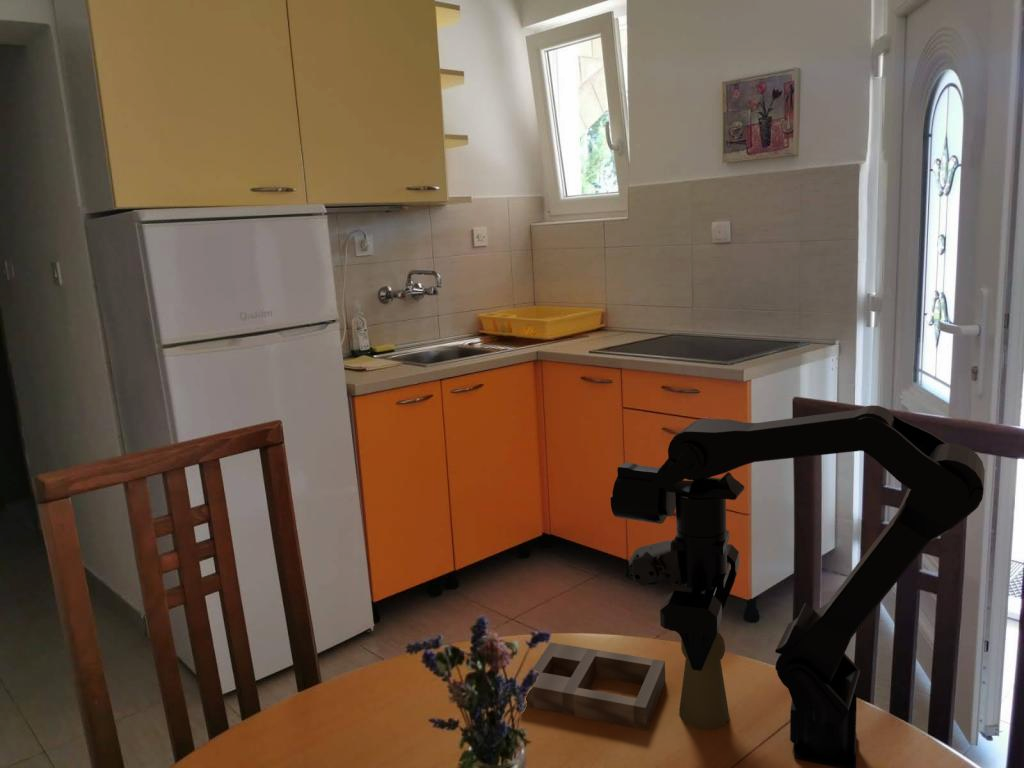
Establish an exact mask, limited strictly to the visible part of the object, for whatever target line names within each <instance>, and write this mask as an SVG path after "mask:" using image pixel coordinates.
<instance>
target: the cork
mask: <svg viewBox="0 0 1024 768" xmlns="http://www.w3.org/2000/svg"><path fill="white" fill-rule="evenodd" d="M680 645H681V653H682V654H683V656H684V658H685V661H684V669H683V670H684V671H683V675H682V676H683V678H682V686H681V695H680V701H679V708H678V710H679V712H678V713H679V717H680V719H681V720H682V721H684V723H686V724H687V725H689V726H691V727H694V728H696V729H697V728H698V729H701V730H715V729H719V728H721V727H723V726H724V725H726V724H727V723H728V721H729V719H730V713H729V707H728V706H729V705H728V701H727V694H726V687H725V682H724V681H725V680H724V676H723V667H722V659H723V658H724V656H725V651H726V644H725V640H724V637H723V636H722V635H721V633H720V632H718V634H717V636H716V639H715V641H714V643H713V645H712V648H711V650H710V652H709V654H708V657H707V659H706V661H705V664H704V666H703V668H702V670H701V671H698V670H693V669H692V667H691V664H690V662H689V659H688V656H687V653H686V650H685V647H684V644H683V642H682V639H681V641H680Z"/></svg>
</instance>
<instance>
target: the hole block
mask: <svg viewBox="0 0 1024 768" xmlns="http://www.w3.org/2000/svg"><path fill="white" fill-rule="evenodd" d="M531 670H536V671H538V672H539V673H540V676H539V678H538V680H537V682H536V683H535V685H534V686H533V688H532V689H531V690H530V691H529V693H528V695H527V697H526V701H527V706H526V707H529V708H533V709H534V708H535V709H539V710H544V711H549V712H553V713H559V714H565V715H568V716H574V717H578V718H584V719H588V720H594V721H598V722H599V721H600V722H605V723H609V724H615V725H620V726H624V727H628V728H634V729H638V730H639V729H640V730H644V731H647V729H648V727H649V725H650V722H651V719H652V716H653V715H654V711H655V710H656V706H657V705H658V702H659V699H660V696H661V694H662V691H663V688H664V686H665V683H666V661H665V660H661V659H654V658H648V657H642V656H637V655H631V654H630V655H629V654H624V653H619V652H618V653H617V652H611V651H606V650H600V649H599V650H598V649H593V648H587V647H581V646H575V645H569V644H564V643H563V644H562V643H556V642H551V641H550V642H549V644H548V645H547V646H546V648H545V650H544V651H543V653H542V654H540V657H539V658H538V660H537V662H536V663H535V664H534V665H533V666H532V668H531ZM596 677H600V678H605V679H611V680H617V681H622V682H627V683H628V682H629V683H633V684H638V683H639V685H641V687H640V690H639V692H638V694H637V696H636V697H631V696H625V695H620V694H615V693H609V692H603V691H598V690H594V689H591V686H592V685H593V683H594V681H595V679H596Z"/></svg>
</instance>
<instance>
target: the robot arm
mask: <svg viewBox="0 0 1024 768" xmlns="http://www.w3.org/2000/svg"><path fill="white" fill-rule="evenodd" d="M668 444H669V445H668V448H667V456H668V457H667V459H666V461H665V462H664V464H662V465H661V466H660V467H655V466H648V465H647V466H646V465H639V464H637V463H632V462H627V461H626V462H623V463H622V464H621V465H619V466H618V467H617V469H616V470H617V472H616V473H617V476H616V478H615V481H614V483H613V488H612V494H611V496H610V509H611V512H612V514H613V516H614V517H615V518H619V519H625V520H631V521H638V522H644V523H645V522H646V523H652V524H660V525H661V524H663V523H664V522H665V521H666V519H667V517H669V518H670V517H672V516H673V515H674V513H675V519H676V520H675V526H676V528H675V529H676V530H675V531H676V535H675V537H674V539H671V540H664V541H659V542H655V543H652V544H648V545H643V546H640V547H638V548H636V549H635V550H634V552H633V553H632V554H631V556H630V557H629V559H628V565H627V566H628V569H629V573H628V577H629V579H631V580H633V581H634V582H635V583H636V584H637V586H640V587H644V586H647V585H648V584H650V583H653V582H658V581H664V580H666V579H669V578H670V584H671V585H675V586H681V585H682V584H683V585H684V586H685V587H686V588H688V589H691V591H683V590H676V589H674V590H673V591H671V592H670V593H669V594H668V595H667V596H666V597H665V599H664V601H663V603H662V606H661V607H660V609H659V616H660V617H659V618H660V621H659V622H660V626H661V627H662V628H663V629H664V630H668V631H671V632H675V633H677V634H678V635H679V636H680V638H681V640H682V642H683V644H684V647H685V650H686V653H687V656H688V659H689V662H690V664H691V667H692V669H693V670H698V671H701V670H702V668H703V666H704V664H705V661H706V659H707V657H708V654H709V652H710V650H711V648H712V645H713V643H714V641H715V639H716V636H717V634H718V632H719V631H720V628H721V626H722V622H723V621H722V614H723V610H724V608H725V606H726V604H727V602H728V599H729V596H730V594H731V591H732V589H733V586H734V584H735V582H736V578H737V574H738V569H739V567H740V551H739V550H738V549H737V548H736V547H735V546H734V545H733V544H730V543H729V541H730V530H727V500H729V501H735V500H737V499H738V497H739V496H740V495H741V494H742V493H743V492H744V490H745V486H744V484H743V483H741V482H740V481H738V480H737V479H736V478H734V476H733V474H732V473H731V471H733V470H735V469H739V468H741V467H743V466H745V465H746V466H747V465H749V464H752V463H759V462H760V463H761V462H766V461H778V460H787V459H797V458H805V457H814V456H824V455H833V454H843V453H853V452H854V453H855V452H864V453H866V454H867V456H869V457H871V458H872V459H874V460H875V461H876V462H877V463H878V464H879V465H881V466H882V467H883V468H884V469H885V470H886V471H887V473H889V474H890V475H891V476H892V477H893V478H894V479H896V480H897V481H898V482H899V483H900V484H901V485H903V486H905V487H906V488H907V490H906V492H905V494H904V497H903V500H902V501H901V504H900V505H899V507H898V510H897V511H896V513H895V515H894V516H893V517H892V518H891V520H890V521H889V522H888V523H887V525H886V526H885V528H883V530H882V531H881V532H880V534H879V535H878V536H877V537H876V539H875V541H874V542H873V543H872V544H871V546H870V547H869V548H868V549H867V551H866V552H865V553H864V555H863V556H862V558H861V559H860V560H859V561H858V562H857V564H856V565H855V566H854V568H852V570H851V572H850V573H849V574H848V576H847V577H846V578H845V580H844V581H843V582H842V583H841V585H840V586H839V587H838V588H837V590H836V591H835V592H834V594H833V595H832V597H830V599H829V601H828V602H827V603H826V604H824V605H823V606H821V607H819V608H817V609H816V610H815V609H813V608H812V606H810V605H809V604H808V603H807V602H805V603H804V604H803V606H802V608H801V609H800V610H801V611H800V612H799V615H798V616H797V618H795V619H794V620H793V621H791V622H789V623H787V626H786V628H785V630H784V632H783V634H782V636H781V637H780V638H781V639H780V640H779V642H778V644H777V647H776V648H775V650H774V653H776V654H779V655H778V658H777V660H776V662H775V670H776V674H777V677H778V678H779V680H780V681H781V683H782V685H784V686H785V688H787V689H788V692H789V694H790V698H791V704H790V714H789V715H790V717H789V720H790V722H789V726H790V727H789V729H790V730H789V732H790V733H789V740H790V742H791V743H793V755H792V756H793V757H794V758H795V759H799V760H803V761H808V762H812V763H813V762H814V763H819V764H823V765H829V766H834V767H837V768H839V767H840V768H857V711H858V710H857V709H858V708H857V695H856V694H855V690H856V686H857V683H858V680H859V677H860V673H861V668H859V667H858V665H856V664H855V663H854V662H853V661H852V659H850V657H849V656H848V655H847V654H846V653H845V652H846V651H847V648H848V647H849V644H850V642H851V640H852V638H853V636H854V635H855V634H856V633H857V631H858V630H859V629H860V628H861V627H862V626H863V625H864V623H865V621H867V620H868V618H869V617H871V616H870V615H872V614H873V612H874V610H875V609H876V608H877V607H878V606H879V604H880V603H881V602H882V601H883V600H884V598H885V597H886V596H887V595H888V594H889V592H890V591H891V590H892V589H893V587H894V586H895V585H896V583H898V581H899V580H900V579H901V578H902V576H903V575H904V574H905V573H906V571H907V570H908V569H909V567H910V566H912V564H913V563H914V561H915V560H916V559H917V557H918V556H919V555H920V554H921V553H922V551H923V550H924V549H925V548H926V546H927V545H929V544H930V543H931V542H933V541H934V540H936V539H937V538H939V537H942V536H943V535H944V534H946V533H948V532H949V531H951V530H953V529H954V528H955V527H957V525H959V524H960V523H961V522H962V521H964V520H965V519H966V518H968V517H969V516H970V515H971V514H972V513H973V512H975V511H976V510H977V508H979V506H980V504H981V502H982V501H983V498H984V490H985V488H984V487H985V473H986V471H985V466H984V462H983V460H982V459H981V458H980V456H979V455H978V453H976V452H975V451H974V450H972V449H971V448H970V447H968V446H966V445H963V444H960V443H953V442H946V441H945V440H943V439H942V438H939V437H938V436H936V434H933V433H932V432H930V431H929V430H926V429H924V428H921V427H920V426H918V425H915V424H913V423H911V422H908V421H906V420H905V419H902V418H900V417H899V416H897V415H896V414H895V413H892V412H891V411H890V410H888V409H887V408H886V407H883V406H880V405H871V404H870V405H867V406H865V407H862V408H860V409H853V410H844V411H837V412H829V413H822V414H814V415H807V416H800V417H792V418H791V417H790V418H784V419H776V420H769V421H762V422H743V421H738V420H733V419H725V418H723V419H720V418H701V419H697V420H695V421H692V423H690V424H689V425H687V426H686V427H685V428H682V430H681V431H679V432H678V433H677V434H676V435H674V436H673V437H672V438H671V441H670V442H669V443H668ZM723 474H724V475H723ZM719 475H723V476H722V477H715V476H719ZM719 633H720V632H719Z"/></svg>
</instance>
